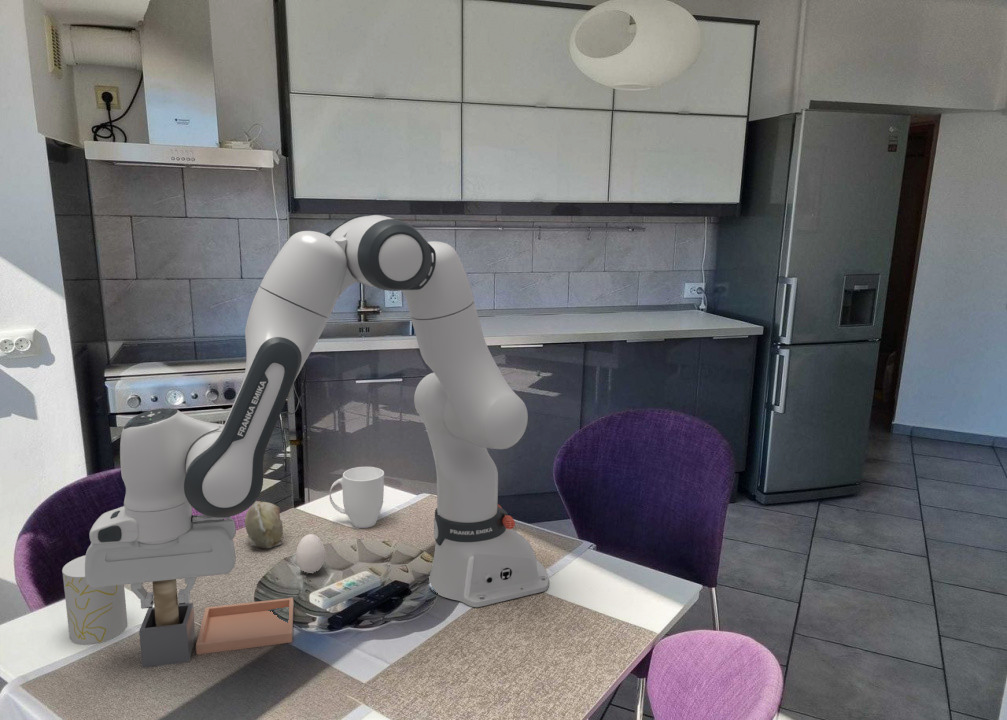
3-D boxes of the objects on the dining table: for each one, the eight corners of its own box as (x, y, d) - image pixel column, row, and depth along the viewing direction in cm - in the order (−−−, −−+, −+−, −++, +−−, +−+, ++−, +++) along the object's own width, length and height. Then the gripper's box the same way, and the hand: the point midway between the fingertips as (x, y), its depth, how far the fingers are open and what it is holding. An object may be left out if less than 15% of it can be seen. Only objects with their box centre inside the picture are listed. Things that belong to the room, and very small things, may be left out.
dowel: (182, 644, 111) (177, 573, 109) (179, 656, 108) (174, 584, 106) (160, 647, 110) (154, 576, 108) (156, 659, 107) (150, 586, 105)
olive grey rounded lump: (264, 563, 143) (255, 527, 138) (235, 547, 147) (226, 511, 142) (298, 534, 150) (291, 499, 145) (270, 519, 154) (262, 484, 149)
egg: (308, 582, 132) (307, 543, 130) (290, 573, 135) (289, 535, 133) (331, 571, 136) (330, 534, 134) (313, 562, 139) (312, 526, 138)
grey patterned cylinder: (62, 651, 110) (54, 579, 107) (78, 622, 117) (71, 555, 115) (121, 644, 112) (114, 573, 109) (132, 616, 119) (127, 550, 117)
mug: (385, 514, 162) (385, 465, 159) (383, 532, 154) (382, 480, 151) (333, 515, 161) (332, 465, 158) (327, 533, 152) (326, 481, 150)
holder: (195, 640, 113) (193, 602, 112) (189, 665, 107) (186, 625, 106) (151, 646, 111) (148, 607, 110) (142, 671, 105) (139, 630, 104)
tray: (293, 608, 123) (293, 597, 122) (292, 645, 112) (291, 633, 112) (206, 618, 119) (205, 607, 119) (196, 657, 109) (196, 645, 108)
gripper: (236, 504, 110) (241, 586, 113) (89, 515, 105) (98, 601, 108) (232, 520, 104) (237, 606, 107) (76, 534, 99) (85, 624, 102)
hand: (166, 604), depth 107 cm, fingers open, 4 cm apart
